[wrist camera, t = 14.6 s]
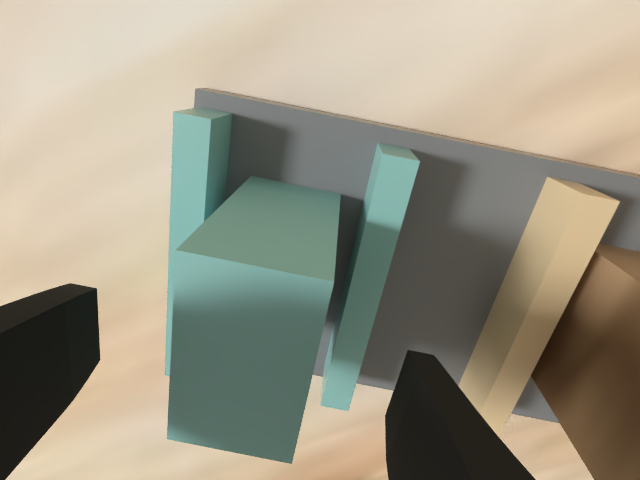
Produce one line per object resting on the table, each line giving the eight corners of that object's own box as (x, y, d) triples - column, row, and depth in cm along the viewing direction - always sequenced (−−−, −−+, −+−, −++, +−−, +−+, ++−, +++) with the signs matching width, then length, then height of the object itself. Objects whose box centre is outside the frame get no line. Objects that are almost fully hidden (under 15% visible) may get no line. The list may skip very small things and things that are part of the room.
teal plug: (313, 318, 15) (291, 463, 9) (235, 303, 15) (167, 439, 9) (340, 193, 13) (333, 281, 7) (251, 175, 13) (175, 249, 7)
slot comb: (599, 414, 17) (649, 480, 14) (190, 333, 17) (158, 384, 14) (739, 195, 13) (847, 226, 10) (206, 88, 13) (166, 90, 10)
